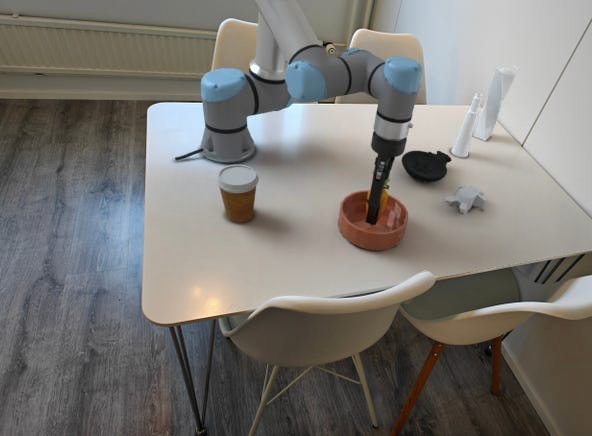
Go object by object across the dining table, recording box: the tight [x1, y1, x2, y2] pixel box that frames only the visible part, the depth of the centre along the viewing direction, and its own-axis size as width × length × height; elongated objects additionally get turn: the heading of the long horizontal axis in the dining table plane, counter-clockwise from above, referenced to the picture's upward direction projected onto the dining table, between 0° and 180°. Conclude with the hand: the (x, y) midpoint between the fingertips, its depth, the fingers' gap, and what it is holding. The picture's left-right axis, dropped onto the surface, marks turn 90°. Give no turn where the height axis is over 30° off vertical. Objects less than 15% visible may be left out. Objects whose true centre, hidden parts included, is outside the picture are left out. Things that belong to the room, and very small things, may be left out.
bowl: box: [337, 189, 409, 251], centre depth 102 cm, size 17×17×6 cm
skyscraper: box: [472, 64, 519, 142], centre depth 148 cm, size 8×8×28 cm
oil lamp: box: [401, 150, 452, 184], centre depth 127 cm, size 15×20×5 cm
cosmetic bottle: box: [450, 92, 483, 158], centre depth 136 cm, size 6×6×22 cm
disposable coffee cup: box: [215, 163, 260, 223], centre depth 97 cm, size 10×10×12 cm
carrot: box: [366, 178, 391, 226], centre depth 98 cm, size 5×5×15 cm
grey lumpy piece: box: [442, 185, 487, 215], centre depth 117 cm, size 10×5×15 cm
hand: (373, 216), depth 101 cm, fingers closed on carrot, 5 cm apart
